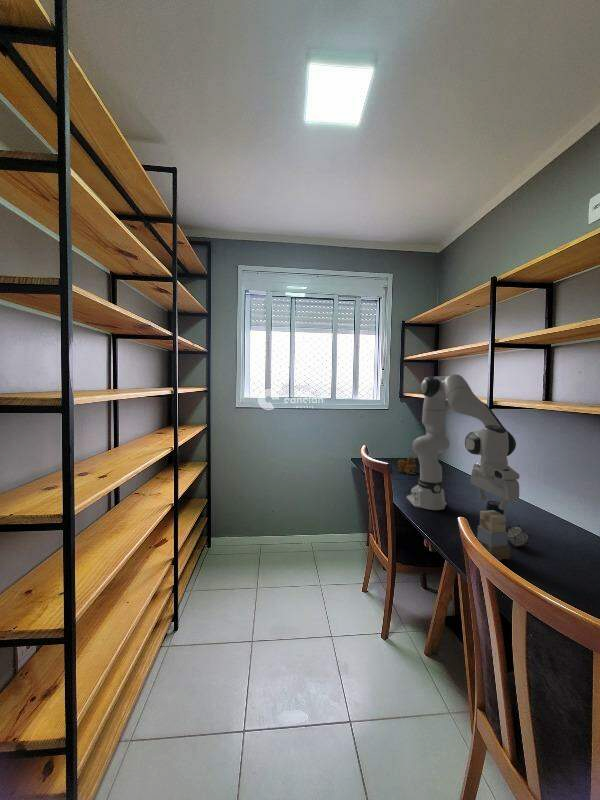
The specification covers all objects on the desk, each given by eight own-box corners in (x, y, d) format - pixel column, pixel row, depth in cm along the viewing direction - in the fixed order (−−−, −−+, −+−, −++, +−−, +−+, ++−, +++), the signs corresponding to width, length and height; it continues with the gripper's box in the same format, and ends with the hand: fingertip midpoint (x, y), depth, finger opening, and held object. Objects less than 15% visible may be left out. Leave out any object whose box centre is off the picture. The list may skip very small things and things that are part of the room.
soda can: (483, 529, 142) (484, 503, 141) (487, 524, 147) (488, 499, 146) (501, 534, 137) (501, 507, 137) (504, 528, 142) (505, 502, 142)
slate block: (477, 538, 123) (477, 525, 123) (493, 536, 124) (493, 524, 124) (491, 547, 116) (491, 533, 116) (507, 545, 117) (507, 532, 117)
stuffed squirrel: (416, 476, 228) (416, 458, 228) (396, 473, 234) (396, 456, 233) (417, 472, 237) (417, 455, 237) (397, 470, 243) (398, 453, 243)
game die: (512, 555, 127) (495, 534, 128) (516, 541, 132) (500, 521, 133) (534, 553, 120) (517, 531, 121) (538, 538, 125) (521, 517, 127)
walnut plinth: (475, 550, 123) (475, 537, 123) (492, 548, 125) (493, 536, 125) (490, 561, 116) (491, 548, 115) (509, 559, 117) (509, 546, 117)
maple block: (479, 526, 122) (479, 511, 122) (493, 525, 123) (493, 510, 123) (491, 533, 116) (491, 517, 116) (505, 531, 117) (505, 516, 117)
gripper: (467, 462, 129) (465, 494, 129) (508, 476, 109) (506, 515, 109) (480, 461, 130) (479, 494, 131) (523, 476, 110) (521, 514, 110)
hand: (491, 504), depth 120 cm, fingers open, 8 cm apart
